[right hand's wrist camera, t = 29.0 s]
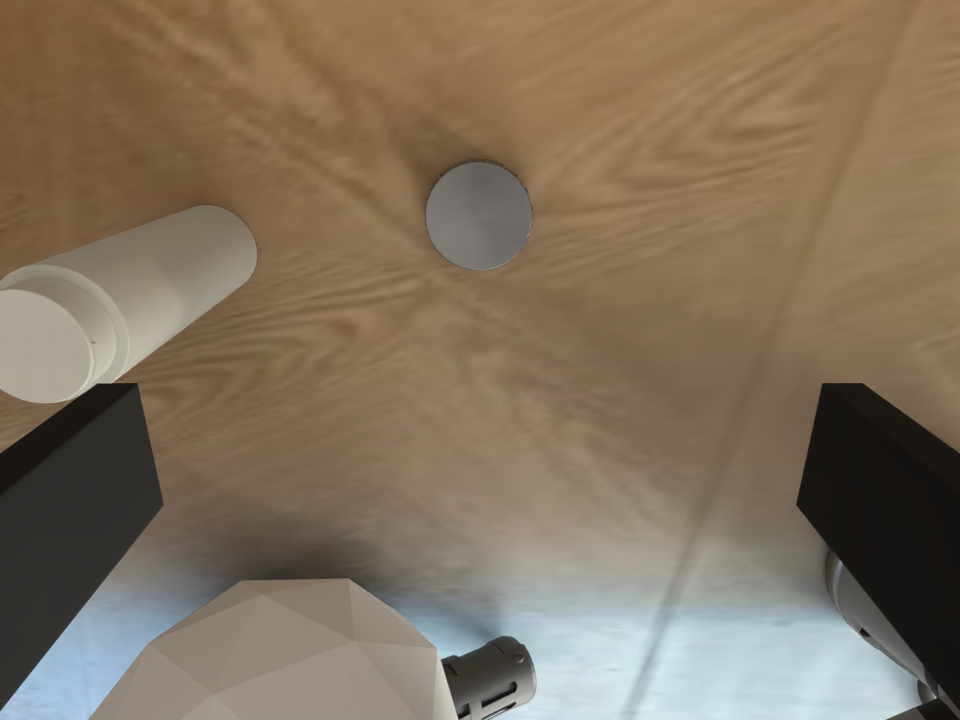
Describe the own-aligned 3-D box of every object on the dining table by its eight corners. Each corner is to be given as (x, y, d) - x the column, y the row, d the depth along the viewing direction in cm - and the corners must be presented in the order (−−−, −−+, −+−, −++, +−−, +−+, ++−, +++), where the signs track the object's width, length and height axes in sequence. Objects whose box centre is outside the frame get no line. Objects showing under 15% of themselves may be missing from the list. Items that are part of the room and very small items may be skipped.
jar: (173, 288, 40) (-32, 409, 24) (165, 200, 38) (-64, 269, 22) (259, 294, 40) (113, 419, 24) (255, 208, 38) (93, 282, 22)
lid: (532, 158, 37) (535, 161, 35) (528, 263, 40) (531, 271, 38) (425, 158, 37) (422, 161, 35) (428, 263, 40) (425, 271, 38)
